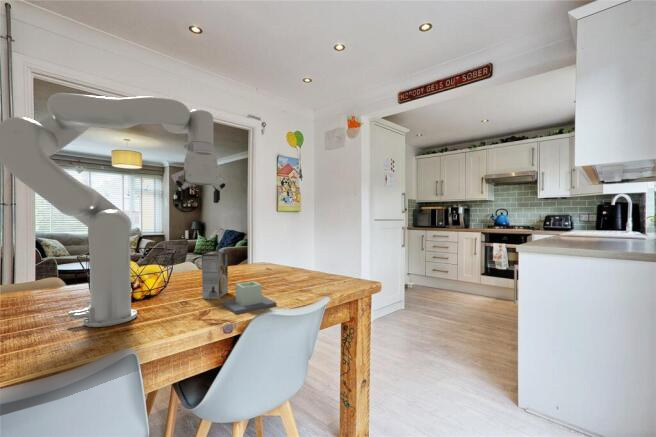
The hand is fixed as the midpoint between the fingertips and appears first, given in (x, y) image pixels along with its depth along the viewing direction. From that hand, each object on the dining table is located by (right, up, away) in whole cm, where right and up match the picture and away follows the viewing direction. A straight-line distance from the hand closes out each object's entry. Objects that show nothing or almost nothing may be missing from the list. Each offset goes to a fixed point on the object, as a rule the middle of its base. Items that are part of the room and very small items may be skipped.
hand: (201, 202), depth 99 cm
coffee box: (0, -34, +14) cm, 37 cm away
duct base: (+15, -34, +2) cm, 37 cm away
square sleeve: (+15, -33, +2) cm, 36 cm away
